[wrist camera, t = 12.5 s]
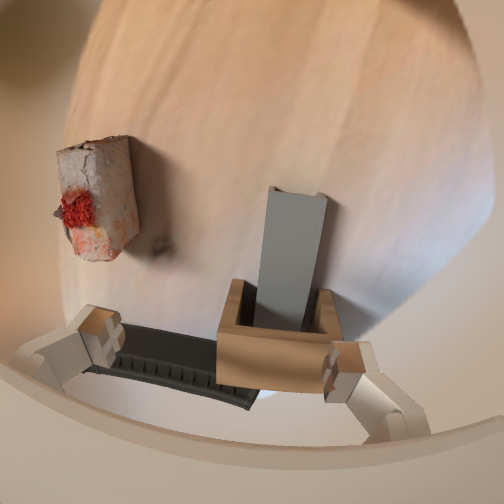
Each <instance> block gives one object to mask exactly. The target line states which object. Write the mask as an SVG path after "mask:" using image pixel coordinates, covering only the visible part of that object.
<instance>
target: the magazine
mask: <svg viewBox="0 0 504 504" xmlns="http://www.w3.org/2000/svg"><path fill="white" fill-rule="evenodd" d="M122 327H123V328H124V331H125V340H124V345H123V346H122V348H121V350H119V351H117V352H115V354H116V359H115V360H114V362H113V364H112V365H111V367H110V369H109V368H105V367H102V366H99V365H95V364H93V365H91V366H90V367H88V368H87V369H86V370H84V371H83V372H81V373H85V372H93V373H96V374H105V375H111V376H117V377H122V378H128V379H133V380H137V381H142V382H147V383H151V384H156V385H160V386H164V387H168V388H172V389H176V390H180V391H183V392H188V393H191V394H196V395H200V396H205V397H208V398H212V399H216V400H219V401H223V402H226V403H229V404H232V405H236V406H238V407H241V408H244V409H245V410H248V411H249V410H250V408H251V406H252V404H253V403H254V401H255V400H256V398H257V396H258V394H259V392H260V390H261V389H252V388H243V387H236V386H229V385H222V384H216V362H217V342H215V341H211V340H206V339H202V338H197V337H193V336H188V335H183V334H178V333H173V332H168V331H162V330H157V329H150V328H144V327H136V326H128V325H122Z"/></svg>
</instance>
